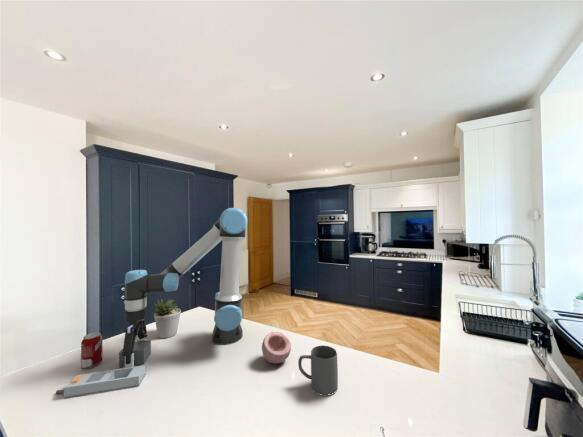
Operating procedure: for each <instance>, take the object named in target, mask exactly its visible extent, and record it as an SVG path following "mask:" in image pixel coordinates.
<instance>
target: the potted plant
mask: <svg viewBox="0 0 583 437" xmlns="http://www.w3.org/2000/svg"><path fill="white" fill-rule="evenodd" d="M173 301H175V300H174V299H172V300H166V302H165V303H164V304H163V299H160V301H159V299H158V298H157V302H156V303H154V305H155V307H156V308H154V310H155V312H151V311H150V312H149V313H151V314H153V317H154V322H155V327H156V332H157V337H158V338H159V339H168V338H169V339H170V338H172V337H174V336H176V335H177V333H178V330H179V325H180V324H179V323H180V319H181V312H182V310H181V309H180V308H178V307H180V305H179V306H178V305H175V303H173ZM172 303H173V304H172Z"/></svg>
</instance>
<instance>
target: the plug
mask: <svg viewBox="0 0 583 437" xmlns="http://www.w3.org/2000/svg"><path fill="white" fill-rule="evenodd" d="M151 346H152V340H151V339H145V340H144V341H137V340H135V344H134V348H133V353H134V367H136V366H143V365H146V363H147V361H148V359H149V358H150V356H151V353H152V349H151V348H152V347H151ZM122 352H123V348H122V349H120V351H119V352H118V369H122V368H125V356H123V357H122Z"/></svg>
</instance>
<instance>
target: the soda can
mask: <svg viewBox="0 0 583 437" xmlns="http://www.w3.org/2000/svg"><path fill="white" fill-rule="evenodd" d="M82 338H83V339H82V340H81V343H80V345H81V346H80V349H81V351H80V367H81V368H83V369H91V368H95V367H96V366H98V365H99V364H100V363H102V362H103V349H104V348H103V344H104V343H103V340H104V339H103V336H102V334H101V332H100V331H99V332H91V333H88V334H86V335H84V336H83V337H82Z"/></svg>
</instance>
